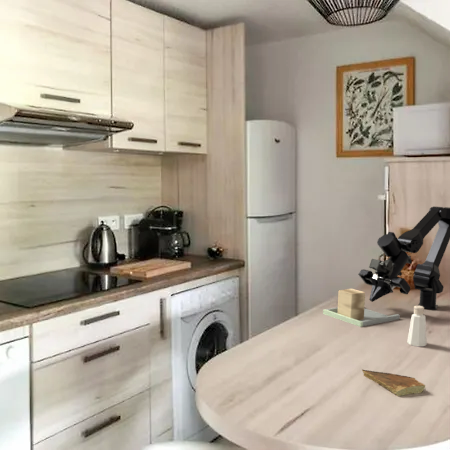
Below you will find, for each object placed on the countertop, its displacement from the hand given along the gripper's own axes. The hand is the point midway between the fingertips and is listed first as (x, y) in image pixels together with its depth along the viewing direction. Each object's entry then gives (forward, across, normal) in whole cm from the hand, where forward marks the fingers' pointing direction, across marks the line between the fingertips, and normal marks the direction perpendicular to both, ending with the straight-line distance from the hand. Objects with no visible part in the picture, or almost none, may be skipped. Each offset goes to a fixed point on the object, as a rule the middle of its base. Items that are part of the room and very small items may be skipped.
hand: (370, 300), depth 180 cm
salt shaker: (+10, +26, -2) cm, 28 cm away
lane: (+7, 0, +1) cm, 7 cm away
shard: (+32, +43, -24) cm, 59 cm away
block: (+10, 0, -3) cm, 10 cm away
